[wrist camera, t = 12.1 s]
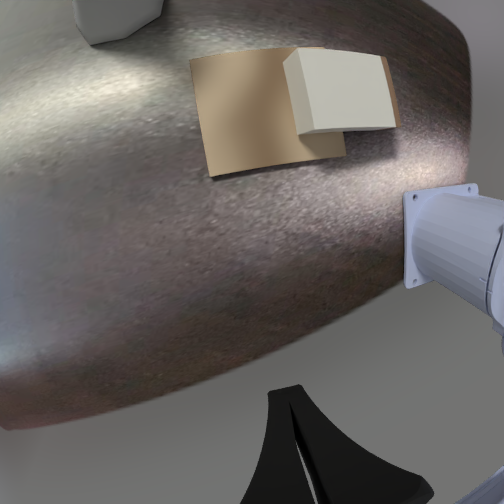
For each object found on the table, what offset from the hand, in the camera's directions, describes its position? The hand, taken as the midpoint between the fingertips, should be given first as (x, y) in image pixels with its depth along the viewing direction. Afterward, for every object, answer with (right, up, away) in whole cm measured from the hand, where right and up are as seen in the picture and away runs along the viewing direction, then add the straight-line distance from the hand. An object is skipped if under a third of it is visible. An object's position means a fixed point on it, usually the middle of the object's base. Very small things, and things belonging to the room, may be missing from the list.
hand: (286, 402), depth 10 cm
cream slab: (+1, +15, +4) cm, 16 cm away
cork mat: (0, +16, +6) cm, 17 cm away
